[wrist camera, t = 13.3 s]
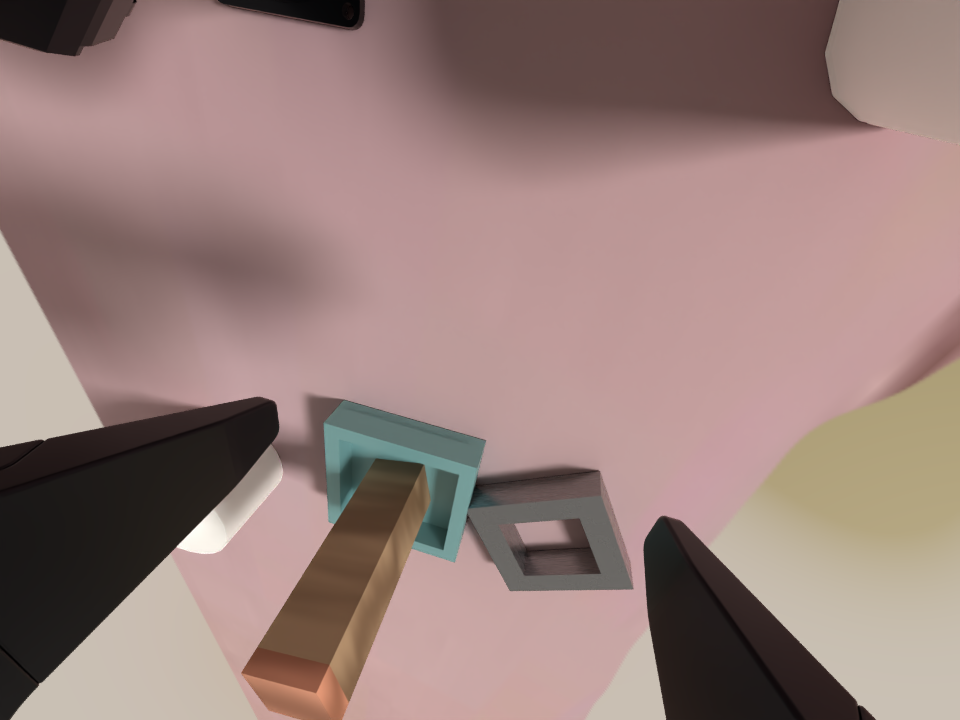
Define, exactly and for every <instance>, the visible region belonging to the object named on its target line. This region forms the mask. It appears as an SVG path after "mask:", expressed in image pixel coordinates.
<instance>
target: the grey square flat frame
mask: <svg viewBox="0 0 960 720" xmlns="http://www.w3.org/2000/svg"><path fill="white" fill-rule="evenodd" d="M467 514H468V515H469V517H470V519H471V521H472V523H473V525H474V526H475V528H476V530H477V532H478V534H479V536H480V537H481V539H482V541H483V543H484V545H485V546H486V548H487V550H488V552H489V554H490V556H491V557H492V559H493V561H494V563H495V565H496V567H497V568H498V570H499V572H500V574H501V576H502V577H503V579H504V581H505V583H506V585H507V587H508V588H509V590H510V591H548V590H621V589H633V581H632V572H631V564H630V560H629V557H628V554H627V551H626V548H625V545H624V542H623V539H622V536H621V533H620V530H619V527H618V524H617V521H616V518H615V515H614V512H613V509H612V506H611V503H610V500H609V497H608V494H607V491H606V488H605V485H604V482H603V479H602V476H601V473H600V471H595V472H587V473H579V474H570V475H562V476H554V477H546V478H537V479H529V480H521V481H513V482H504V483H496V484H488V485H479V486H475V487H474V491H473V494H472V497H471V501H470V504H469V508H468V511H467ZM577 518H580V521H581V524H582V526H583V529H584V531H585V534H586V536H587V539H588V542H589V544H590V547H591V548H582V549H562V550H543V551H527V549H526V547H525V545H524V543H523V541H522V539H521V537H520V535H519V533H518V531H517V529H516V527H515V525H514V523H527V522H540V521H552V520H565V519H577Z"/></svg>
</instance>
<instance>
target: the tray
mask: <svg viewBox="0 0 960 720" xmlns="http://www.w3.org/2000/svg"><path fill="white" fill-rule="evenodd" d="M324 441H325V460H326V480H327V499H328V518H329V522H330V523H333V524H335V523H336V521H337V520H338V518H339V516H340V515H341V513H342V512H343V510H344V508H345V507H346V505H347V504H348V502H349V500H350V499H351V497H352V496H353V494H354V492H355V491H356V489H357V488H358V486H359V485H360V483H361V481H362V480H363V478H364V477H365V475H366V473H367V472H368V470H369V469H370V467H371V465H372V464H373V462H374V461H375V459H376V458H378V459H387V460H395V461H404V462H413V463H421V464H424V465H425V471H426V476H427V482H428V487H429V493H430V499H431V501H430V504H429V506H428V509H427V511H426V514H425V516H424V519H423V521H422V524H421V526H420V529H419V531H418V533H417V536H416V538H415V541H414V543H413V546H412V548H411V549H414V550H418V551H421V552H424V553H427V554H430V555H433V556H436V557H439V558H443V559H446V560H449V561H452V562H455V560H456V557H457V553H458V550H459V546H460V543H461V539H462V536H463V533H464V528H465V524H466V520H467V516H468V514H467V511H468V508H469V504H470V501H471V497H472V494H473V491H474V487H475V484H476V480H477V475H478V471H479V467H480V463H481V459H482V455H483V451H484V447H485V443H486V441H485V440H482V439H478V438H475V437H471V436H468V435H464V434H461V433H457V432H454V431H450V430H447V429H443V428H440V427H436V426H433V425H429V424H426V423H422V422H419V421H415V420H412V419H408V418H405V417H401V416H398V415H395V414H391V413H388V412H384V411H381V410H377V409H374V408H370V407H367V406H363V405H360V404H356V403H353V402H349V401H346V400H343V402H342V403H341V404H340V405H339V406H338V407H337V408H336V409H335V411H334V412H333V413H332V414H331V415H330V416H329V417H328V419H327V420H326V421H325V422H324Z"/></svg>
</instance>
